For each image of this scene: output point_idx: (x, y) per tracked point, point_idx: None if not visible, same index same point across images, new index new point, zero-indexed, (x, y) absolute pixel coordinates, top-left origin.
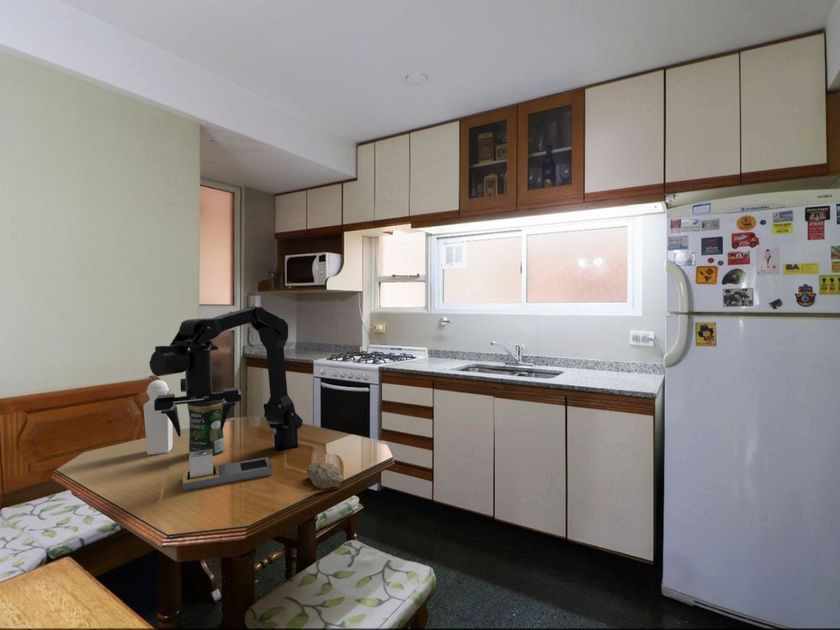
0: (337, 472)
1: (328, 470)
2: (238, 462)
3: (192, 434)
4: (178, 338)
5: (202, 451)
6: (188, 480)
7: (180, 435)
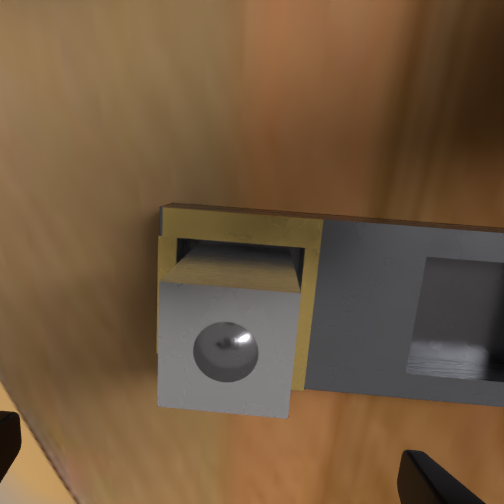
0: None
1: None
2: (423, 236)
3: None
4: None
5: (235, 317)
6: None
7: (15, 446)
